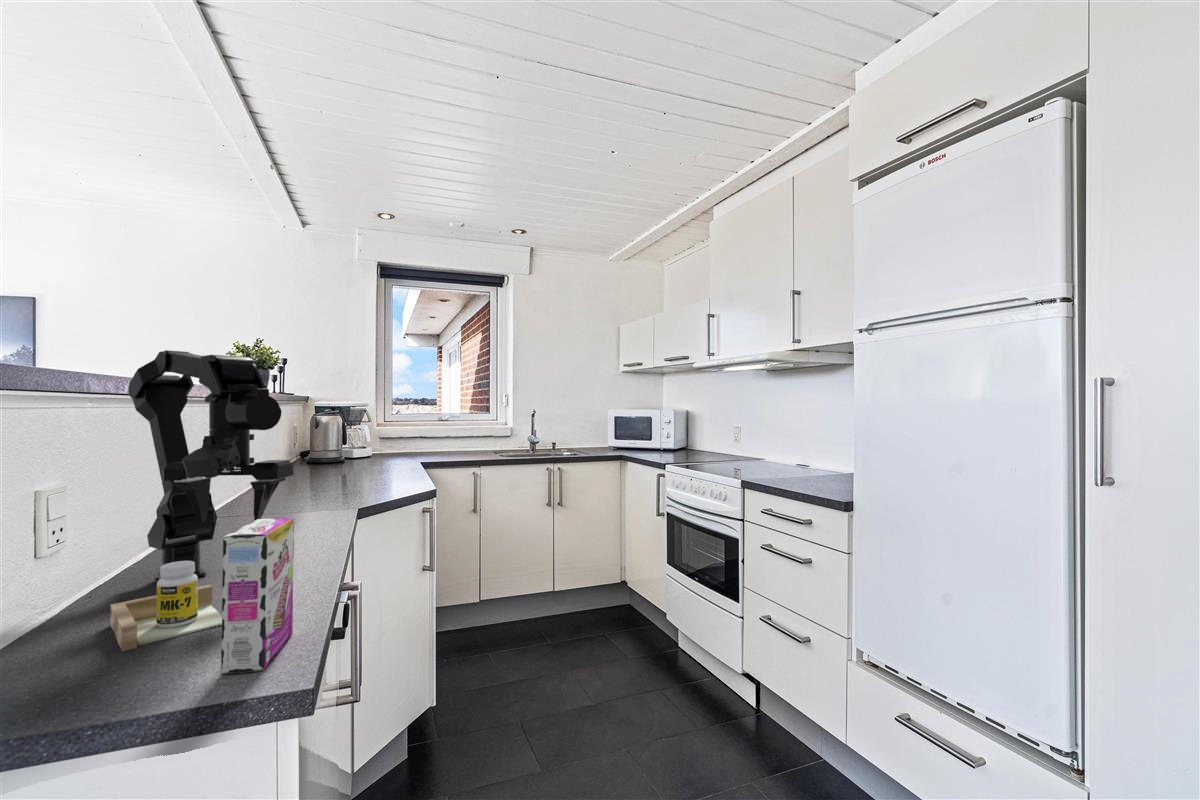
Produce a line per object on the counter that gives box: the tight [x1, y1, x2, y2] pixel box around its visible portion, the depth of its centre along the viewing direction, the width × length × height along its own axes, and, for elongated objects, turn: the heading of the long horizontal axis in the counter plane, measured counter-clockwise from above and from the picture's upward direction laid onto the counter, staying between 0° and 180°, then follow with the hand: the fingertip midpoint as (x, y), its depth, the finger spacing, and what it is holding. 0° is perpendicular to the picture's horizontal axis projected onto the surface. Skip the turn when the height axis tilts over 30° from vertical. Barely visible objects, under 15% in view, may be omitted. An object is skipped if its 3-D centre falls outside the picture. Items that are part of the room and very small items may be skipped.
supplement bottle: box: [156, 561, 199, 628], centre depth 81 cm, size 5×5×8 cm
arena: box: [109, 584, 222, 653], centre depth 80 cm, size 12×12×3 cm
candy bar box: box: [220, 517, 295, 675], centre depth 71 cm, size 11×5×16 cm, turn 13°
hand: (230, 520), depth 95 cm, fingers open, 9 cm apart
